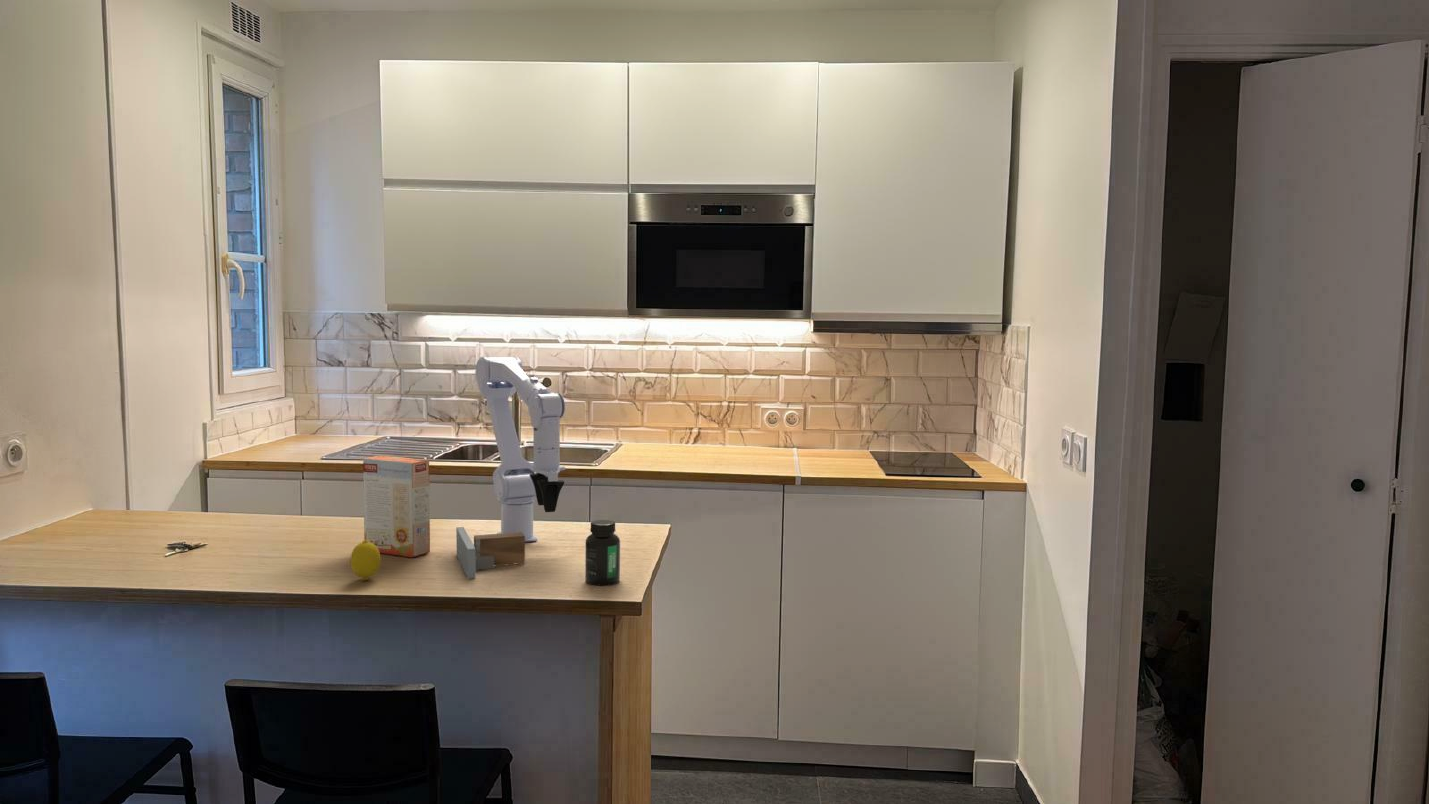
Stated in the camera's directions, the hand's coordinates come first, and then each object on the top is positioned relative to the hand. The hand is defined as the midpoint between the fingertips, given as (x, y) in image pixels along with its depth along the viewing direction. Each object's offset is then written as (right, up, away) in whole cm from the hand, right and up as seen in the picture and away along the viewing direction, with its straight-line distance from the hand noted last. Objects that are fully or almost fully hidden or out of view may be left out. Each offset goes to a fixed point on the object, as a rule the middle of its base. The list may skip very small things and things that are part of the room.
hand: (546, 508), depth 208 cm
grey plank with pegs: (-12, -11, -10) cm, 19 cm away
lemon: (-31, -12, -23) cm, 41 cm away
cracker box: (-33, -10, -1) cm, 34 cm away
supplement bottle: (+15, -12, -21) cm, 29 cm away
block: (-8, -11, -9) cm, 16 cm away
